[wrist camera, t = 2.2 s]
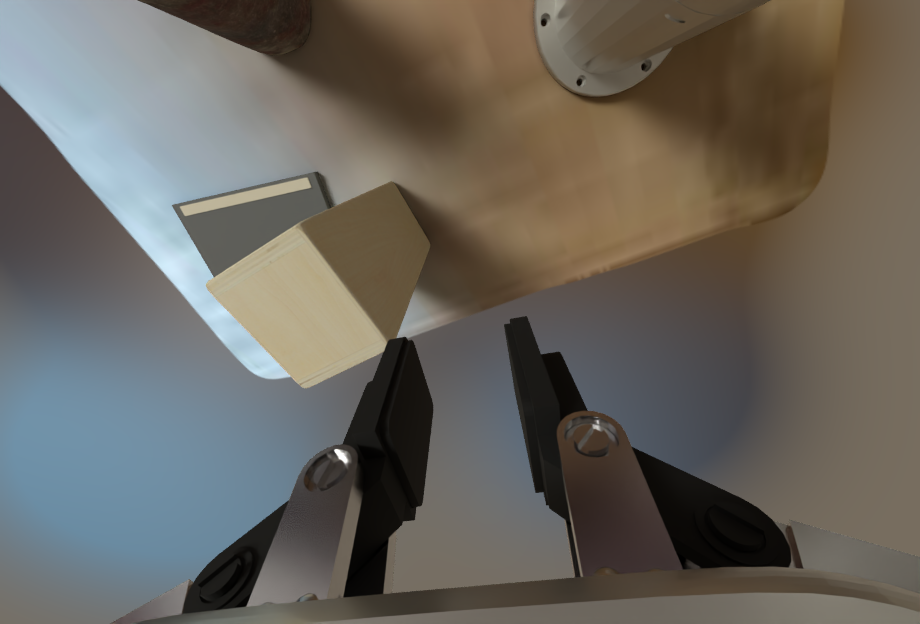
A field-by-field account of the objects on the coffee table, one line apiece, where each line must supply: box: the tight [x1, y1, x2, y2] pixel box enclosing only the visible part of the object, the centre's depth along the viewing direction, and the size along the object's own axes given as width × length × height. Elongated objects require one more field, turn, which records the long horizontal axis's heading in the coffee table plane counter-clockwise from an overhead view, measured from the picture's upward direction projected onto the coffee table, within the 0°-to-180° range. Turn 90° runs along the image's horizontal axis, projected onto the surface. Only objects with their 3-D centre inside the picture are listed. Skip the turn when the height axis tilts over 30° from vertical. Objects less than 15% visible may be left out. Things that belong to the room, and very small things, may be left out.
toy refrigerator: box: [206, 181, 430, 388], centre depth 26 cm, size 8×7×21 cm
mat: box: [172, 172, 330, 277], centre depth 37 cm, size 16×14×1 cm
